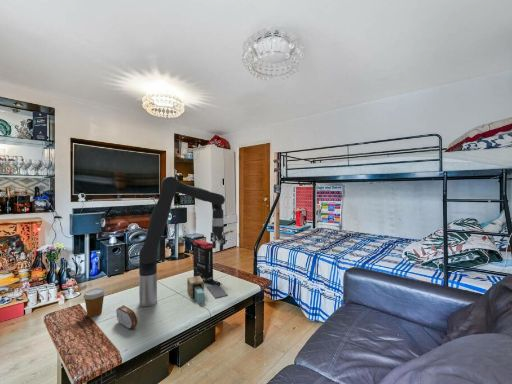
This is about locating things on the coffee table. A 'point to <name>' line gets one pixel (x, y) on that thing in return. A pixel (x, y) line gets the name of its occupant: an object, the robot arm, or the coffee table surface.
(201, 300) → the grey-blue block
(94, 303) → the disposable coffee cup
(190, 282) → the sleeve
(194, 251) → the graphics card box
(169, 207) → the robot arm
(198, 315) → the coffee table surface
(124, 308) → the brown grey rounded block
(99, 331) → the coffee table surface
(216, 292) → the mat
